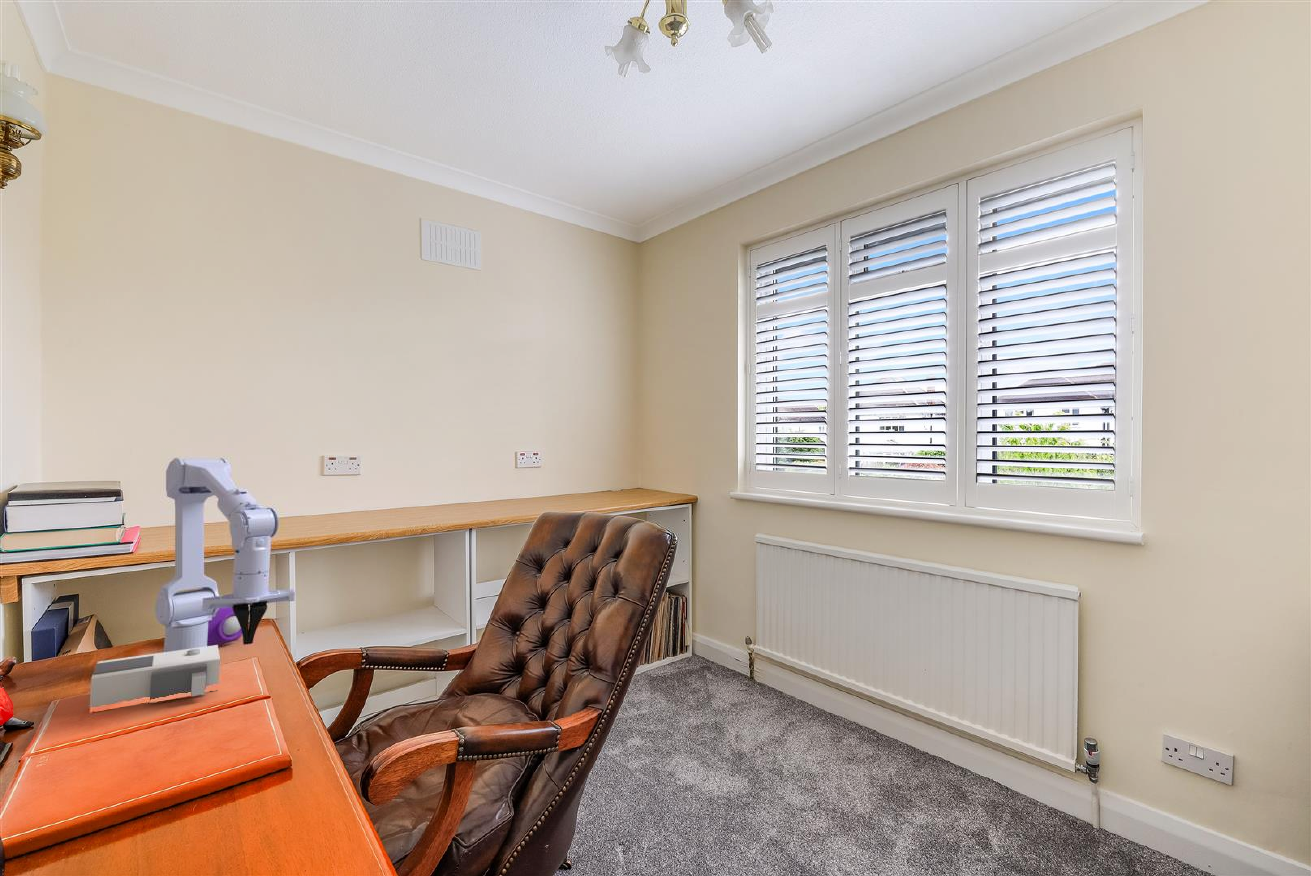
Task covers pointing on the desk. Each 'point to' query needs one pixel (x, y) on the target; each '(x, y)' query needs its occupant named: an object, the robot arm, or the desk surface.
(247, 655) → the desk surface
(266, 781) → the desk surface
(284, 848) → the desk surface
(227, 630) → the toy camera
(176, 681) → the side door
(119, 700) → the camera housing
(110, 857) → the desk surface
